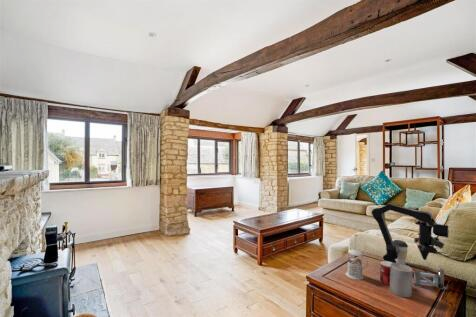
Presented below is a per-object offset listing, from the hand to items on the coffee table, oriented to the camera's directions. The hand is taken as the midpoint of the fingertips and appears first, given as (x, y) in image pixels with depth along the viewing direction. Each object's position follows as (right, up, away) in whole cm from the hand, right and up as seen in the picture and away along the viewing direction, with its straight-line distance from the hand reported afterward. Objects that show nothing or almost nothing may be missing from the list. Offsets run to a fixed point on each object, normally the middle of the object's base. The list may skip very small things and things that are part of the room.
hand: (424, 259), depth 138 cm
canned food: (-25, -12, -5) cm, 27 cm away
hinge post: (+3, -12, -8) cm, 15 cm away
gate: (-4, -11, -6) cm, 13 cm away
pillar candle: (-24, -12, -14) cm, 30 cm away
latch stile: (-9, -12, -7) cm, 16 cm away
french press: (-39, -11, +3) cm, 41 cm away
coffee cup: (+1, -12, +23) cm, 26 cm away
